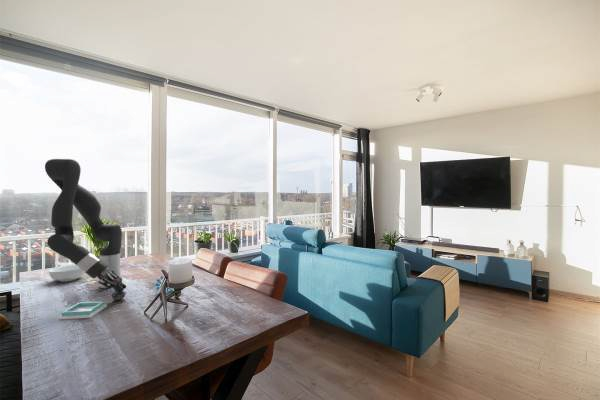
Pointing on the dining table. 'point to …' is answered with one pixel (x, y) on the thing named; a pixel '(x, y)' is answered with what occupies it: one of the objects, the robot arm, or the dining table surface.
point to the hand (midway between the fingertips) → (123, 289)
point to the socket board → (83, 310)
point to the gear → (160, 283)
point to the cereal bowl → (66, 273)
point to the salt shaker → (116, 295)
